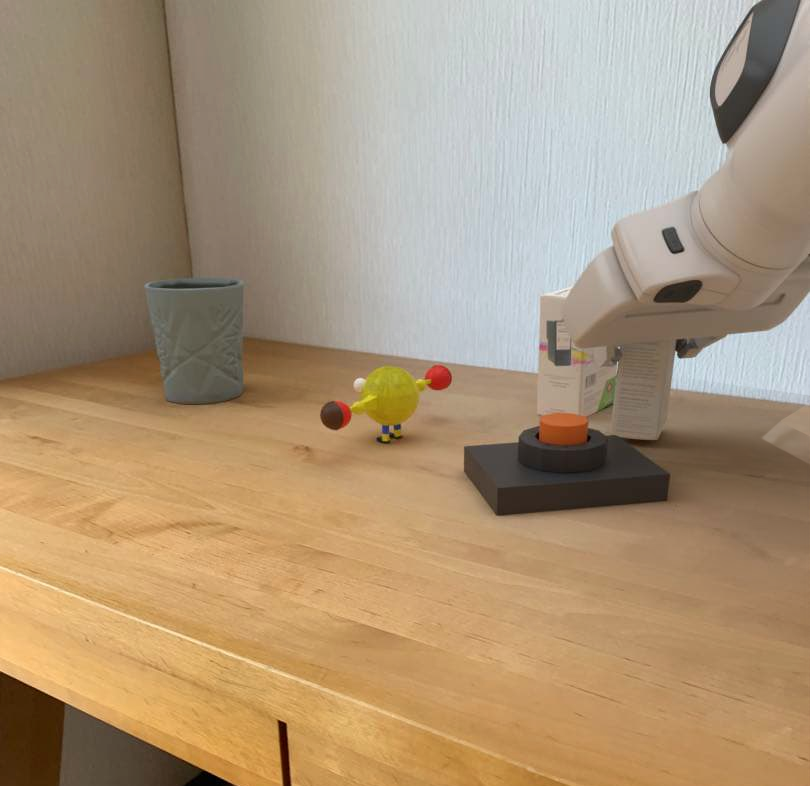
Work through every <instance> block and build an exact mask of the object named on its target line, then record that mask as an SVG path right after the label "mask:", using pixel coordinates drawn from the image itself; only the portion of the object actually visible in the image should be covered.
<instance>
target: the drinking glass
mask: <svg viewBox="0 0 810 786" xmlns="http://www.w3.org/2000/svg"><path fill="white" fill-rule="evenodd" d="M244 285H245V284H244V282H243V281H242V280H240V279H235V278H228V277H227V278H226V277H185V278H183V277H182V278H169V279H163V280H156V281H150V282H147V283H146V284H144V285H143V286H144V287H143V288H144V291H145V292H144V293H145V296H146V301H147V306H148V309H149V316H150V320H151V321H150V322H151V327H152V328H153V334H154V335H155V336H154V341H155V348H156V355H157V357H158V359H159V363H160V368H159V369H160V376H161V382H162V385H163V386H162V388H163V393H164V397H165V399H166V400H167V401H169V402H171V403H176V404H182V405H207V404H216V403H221V402H227V401H231V400H233V399H236V398H238V397H241V396H242V395H243V392H244V365H243V363H242V362H243V361H242V359H243V357H244V335H243V333H242V329H243V324H244Z"/></svg>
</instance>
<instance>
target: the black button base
mask: <svg viewBox="0 0 810 786" xmlns="http://www.w3.org/2000/svg"><path fill="white" fill-rule="evenodd" d="M539 428H540V425H536V426H534V427H531V428H527V429H523V430H522V432H521V433H520V434H519V436H518V442H503V443H491V444H490V443H489V444H477V445H465V446H463V472H464V474H465V475H466V476H467V478H468V479H469V480H470V482H471V483H472V485H473V486H474V487H475V489H476V490H477V491H478V492H479V494H480V495H481V496H482V498H483V499H484V501H485V502H486V503H487V504H488V506H489V507H490V509H491V510H492V511H493V513H494V514H495V515H496V516H497V517H502V516H512V515H513V516H514V515H524V514H536V513H545V512H546V513H549V512H558V511H569V510H580V509H582V510H583V509H592V508H603V507H606V508H607V507H615V506H629V505H638V504H650V503H663V502H668V497H669V488H670V479H671V473H670V472H668V471H667V470H666V469H664V468H663V467H661V466H660V465H658V464H657V463H656V462H654V461H653V460H652V459H650V458H649V457H648V456H646V455H645V454H643V453H642V452H641V451H639V450H638V449H636V448H635V447H633V446H632V445H630V443H628V442H627V441H625V440H624V439H623V438H622V437H618V436H617V435H611V434H610V435H605V434H604V433H603V432H601V431H600V430H598V429H594V428H590V427H588V433H587V442H585V443H582V444H577V445H556V444H548V443H545V442H541V441H539Z"/></svg>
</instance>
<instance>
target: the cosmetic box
mask: <svg viewBox="0 0 810 786" xmlns="http://www.w3.org/2000/svg"><path fill="white" fill-rule="evenodd" d="M676 342H677V339H676V340H666V341H655V342H645V343H634V344H624V345H622V346H620V347H619V349H620V351H621V353H622V358H621V359H620V360H619V361H618V362H617V374H616V386H615V395H614V402H613V406H612V413H611V414H612V415H611V423H610V424H611V425H610V432H609V433H610V435H617V436H618V437H620V438H621V439H623V438H624V439H629V440H630V439H631V440H643V441H657V440H658V439H659V437H660V435H661V433H662V432H663V429H664V427H665V426H666V423H667V420H668V412H669V405H670V397H671V391H672V381H673V374H674V364H675V357H676V351H675V350H676Z"/></svg>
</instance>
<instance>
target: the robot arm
mask: <svg viewBox="0 0 810 786" xmlns="http://www.w3.org/2000/svg"><path fill="white" fill-rule="evenodd" d="M709 100H710V105H711V109H712V115H713V119H714V122H715V127H716V130H717V134H718V138H719V140H720V142H721V144H722V145H726V147H727V153H726V156H725V159H724V161H723V163H722V164H721V166H720V167H719V169H717V170H716V171H715V172H714V173H713V174H712V175H710V177H708V178H707V179H706V180H705V182H704V183H703V185H702V186H701V187H700V188H699V189H698V190H694V191H691V192H688V193H686V194H684V195H681V196H679V197H678V198H675V199H673V200H671V201H668V202H666V203H663V204H660V205H657V206H654V207H651V208H648V209H644V210H641V211H636V212H633V213H629V214H627V215H625V216H622V217H620V218H619V219H618V220H617V221H616V223H615V224H614V226H613V227H612V230H611V232H610V237H611V240H612V244H613V245H610V246H609V247H606V248H605V249H603V250H602V251H600V252H599V253H598V254H597V255H595V257H593V259H592V260H591V261H589V262H590V263H589V262H588V263H589V265H588V266H587V265H586V267H585V269H584V270H583V271H582V273H581V274H580V276H578V279H577V280H576V282H575V283H574V284H573V285H572V286H573V288H572V289H571V291H570V293H569V294H568V296H567V298H566V299H565V301H564V303H563V306H562V317H563V321H564V324H565V327H566V329H567V332H568V334H569V336H570V338H571V340H572V342H573V343H574V345H575V346H576V347H577V348H580V349H584V348H593V347H596V348H595V349H594V352H593V355H594V358H595V361H596V363H597V366H598V367H608V366H615V365H616V364H617V365H618V361H619V360H620V359H621V358H622V353H621V351H620V346H622V345H624V344H634V343H645V342H655V341H666V340H676V339H677V342H676V350H675V353H676V356H677V358H678V359H679V360H684V359H694V358H696V357H697V356H698V355H699V354H700V353H701V352H702V351H703V349H705V348H708V347H710V346H712V345H713V344H715V343H717V342H719V341H720V340H722V339H724V338H727V336H728V335H738V334H748V333H758V332H768V331H770V330H772V329H774V328H777V327H778V326H779V325H781V324H783V323H784V322H786V320H788V318H789V317H791V315H792V314H793V313H794V312H795V311H796V309H797V308H799V306H800V305H801V303H803V301H804V300H805V299H806V297H807V296H808V295H809V293H810V0H760V1H758V2H757V3H755V4H754V5H753V6H752V7H750V9H749V11H748V12H747V13H746V14H745V16H744V18H743V20H742V21H741V23H740V25H739V26H738V28H737V29H736V31H735V33H734V34H733V36H732V38H731V39H730V41H729V43H727V46H726V47H725V49H724V51H723V53H722V55H721V56H720V58H719V60H718V62H717V64H716V66H715V68H714V71H713V73H712V77H711V80H710V86H709Z"/></svg>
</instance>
